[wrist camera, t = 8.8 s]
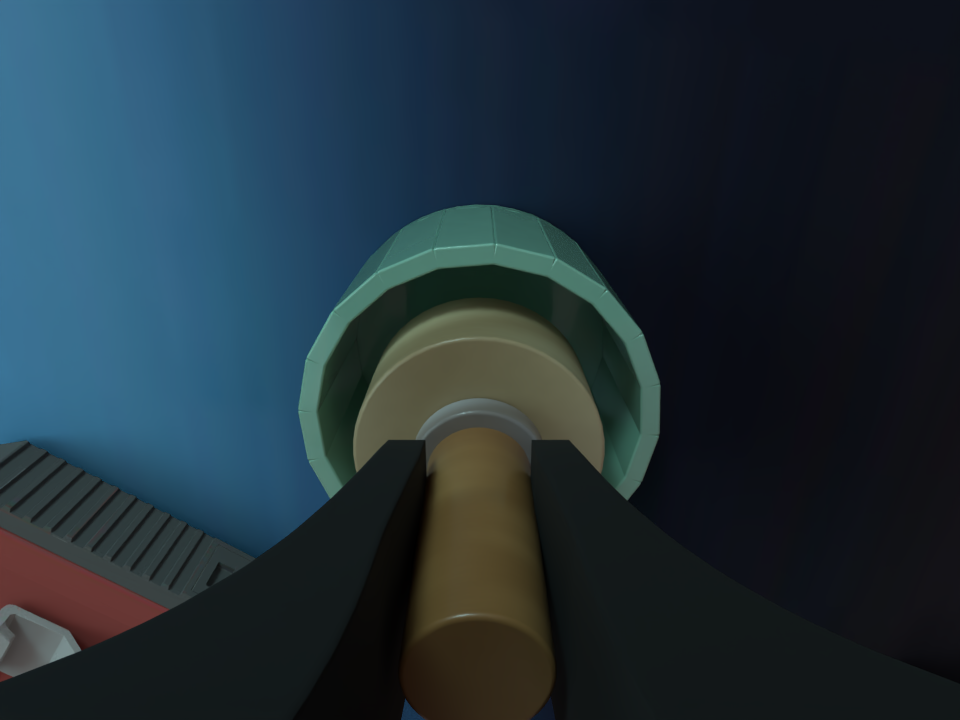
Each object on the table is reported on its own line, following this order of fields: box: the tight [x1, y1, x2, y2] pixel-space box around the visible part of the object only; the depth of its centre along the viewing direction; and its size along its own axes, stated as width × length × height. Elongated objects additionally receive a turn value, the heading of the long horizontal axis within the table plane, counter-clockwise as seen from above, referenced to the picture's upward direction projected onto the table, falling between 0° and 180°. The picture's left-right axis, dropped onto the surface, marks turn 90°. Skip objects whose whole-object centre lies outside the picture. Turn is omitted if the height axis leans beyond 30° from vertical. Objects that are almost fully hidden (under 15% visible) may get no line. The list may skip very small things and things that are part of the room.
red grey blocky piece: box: [0, 441, 256, 682], centre depth 20 cm, size 9×4×20 cm
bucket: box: [298, 205, 661, 500], centre depth 16 cm, size 7×7×5 cm
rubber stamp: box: [353, 298, 605, 720], centre depth 11 cm, size 5×5×8 cm
